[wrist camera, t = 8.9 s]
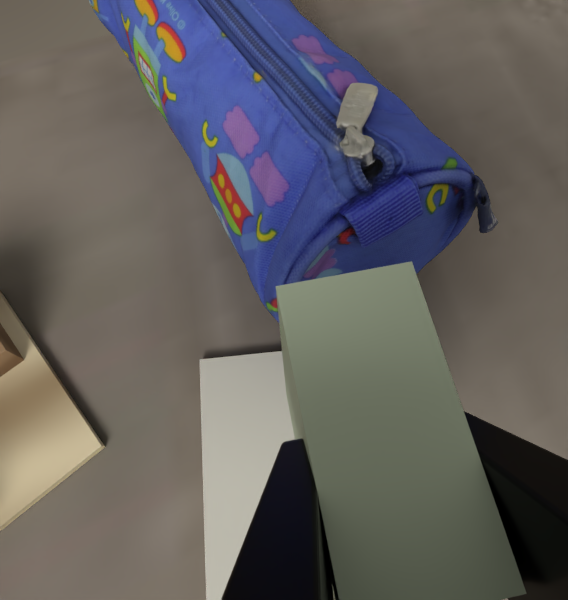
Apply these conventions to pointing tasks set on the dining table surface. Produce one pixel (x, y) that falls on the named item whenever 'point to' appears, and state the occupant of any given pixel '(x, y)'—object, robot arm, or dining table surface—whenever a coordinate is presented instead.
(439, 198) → the pencil case
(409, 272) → the sage board
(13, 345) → the rack
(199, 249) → the dining table surface
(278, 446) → the felt pad
